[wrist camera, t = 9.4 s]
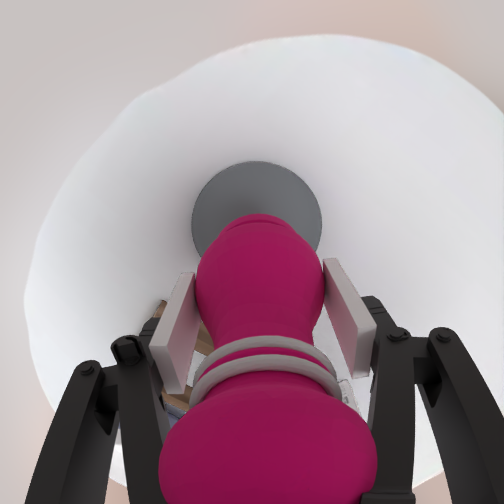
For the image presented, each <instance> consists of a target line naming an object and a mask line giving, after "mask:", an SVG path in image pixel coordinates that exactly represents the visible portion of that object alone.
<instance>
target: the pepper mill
mask: <svg viewBox="0 0 504 504" xmlns="http://www.w3.org/2000/svg"><path fill="white" fill-rule="evenodd" d="M324 295H325V280H324V274H323V271H322V267H321V264H320V262H319V259H318V257H317V255H316V253H315V251H314V250H313V248H312V247H311V246H310V245H309V243H308V242H307V241H306V240H304V239H303V238H302V237H301V236H300V235H299V234H297V233H296V231H295V230H294V229H293V228H292V227H291V226H290V225H289V224H288V223H287V222H285V221H284V220H282V219H280V218H278V217H275V216H272V215H268V214H259V213H258V214H249V215H246V216H242V217H239V218H237V219H235V220H234V221H232V222H230V223H229V224H228V225H227V226H226V227H225V228H224V229H223V230H222V231H221V232H220V234H219V235H218V237H217V239H216V240H214V241H213V242H212V244H211V245H210V246H209V247H208V248H207V250H206V251H205V253H204V254H203V256H202V258H201V260H200V263H199V266H198V270H197V276H196V282H195V296H196V302H197V306H198V311H199V314H200V317H201V320H202V321H203V323H204V325H205V327H206V329H207V330H208V332H209V334H210V336H211V338H212V340H213V344H214V352H212V353H211V354H210V355H209V356H207V357H206V358H205V359H204V360H203V362H202V363H201V364H200V366H199V367H198V369H197V371H196V373H195V376H194V380H193V390H192V392H191V396H190V400H189V411H188V412H187V413H186V414H185V415H184V416H183V417H182V418H181V419H179V420H178V421H177V422H176V423H175V424H174V425H173V427H172V428H171V429H170V431H169V432H168V433H167V436H166V439H165V442H164V445H163V448H162V450H161V453H160V457H159V470H158V476H159V483H160V488H161V491H162V494H163V496H164V498H165V500H166V502H167V503H168V504H359V502H360V499H361V495H362V493H364V492H369V491H370V490H371V489H372V487H373V485H374V482H375V478H376V472H377V451H376V445H375V442H374V439H373V437H372V435H371V432H370V430H369V427H368V425H367V423H366V422H365V421H364V420H363V418H362V417H361V416H360V415H359V414H358V413H357V412H356V411H355V410H354V409H352V408H351V407H349V406H348V405H346V404H345V403H343V402H342V392H341V389H340V386H339V384H338V382H337V378H336V372H335V370H334V367H333V366H332V364H331V362H330V361H329V359H328V358H327V357H326V355H324V354H323V353H322V352H321V351H320V350H318V349H316V348H315V347H314V342H313V336H312V331H313V328H314V326H315V324H316V322H317V320H318V318H319V316H320V314H321V310H322V307H323V302H324Z"/></svg>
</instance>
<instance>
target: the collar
mask: <svg viewBox="0 0 504 504" xmlns="http://www.w3.org/2000/svg"><path fill="white" fill-rule="evenodd" d="M166 305H167V302H165V301H164V300H162V302H161V304H160V306H159V307H158V309H157V311H156V312H155V314H154V316H153V317H152V318H154V317H161V316H162V314H163V312H164V310H165V308H166ZM194 350H196V351H198V352H200V353H202V354H204V355H206V356H209V355H210V354H211V353H212V352H214V344H213V340H212V338H211V336H210V334H209V332H208V330H207V329H206V327H205V325H204V323H202V322H201V323H200V327H199V331H198V335H197V339H196V343H195V347H194ZM192 390H193V388H191V387H189V386H187V385H186V386H185V390H184V394H167V392H166V390H165V388H164V386H163V389H162V392H161V393H162V396H163V398H164V401H165V402H167V403H169V404H171V405H173V406H176V407H178V408H180V409H182V410H184V411H187V412H188V411H189V400H190V396H191V392H192Z"/></svg>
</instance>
